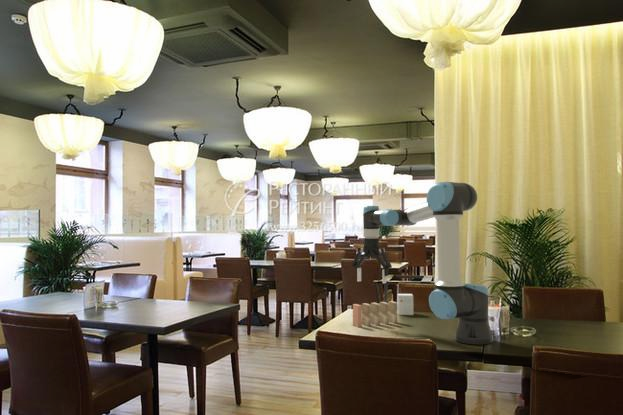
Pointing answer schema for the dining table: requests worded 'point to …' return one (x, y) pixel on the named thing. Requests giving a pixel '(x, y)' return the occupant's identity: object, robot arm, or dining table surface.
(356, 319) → the domino
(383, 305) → the domino
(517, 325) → the dining table surface
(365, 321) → the domino
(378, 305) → the domino
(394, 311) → the domino
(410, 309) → the small box
